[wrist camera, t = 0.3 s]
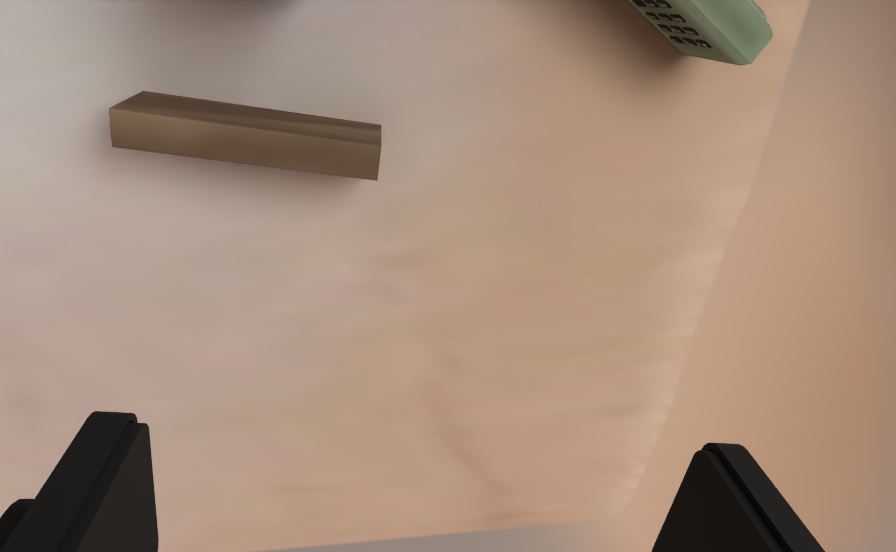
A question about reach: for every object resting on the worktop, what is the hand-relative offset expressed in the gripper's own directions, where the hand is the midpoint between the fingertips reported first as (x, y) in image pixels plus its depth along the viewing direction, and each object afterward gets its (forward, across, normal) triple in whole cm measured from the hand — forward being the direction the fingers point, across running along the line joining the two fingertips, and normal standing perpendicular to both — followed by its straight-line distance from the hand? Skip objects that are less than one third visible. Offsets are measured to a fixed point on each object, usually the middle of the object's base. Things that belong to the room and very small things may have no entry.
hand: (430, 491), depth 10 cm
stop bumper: (+30, +8, +2) cm, 31 cm away
